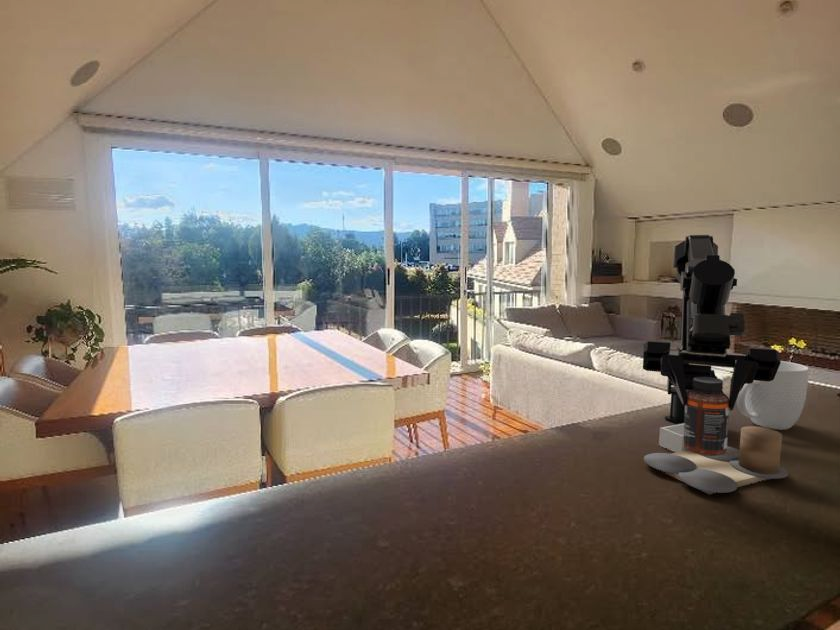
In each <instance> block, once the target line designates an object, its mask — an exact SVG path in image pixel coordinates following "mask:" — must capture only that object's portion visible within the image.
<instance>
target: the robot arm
mask: <svg viewBox="0 0 840 630" xmlns="http://www.w3.org/2000/svg"><path fill="white" fill-rule="evenodd" d="M672 268H673V269H675V278H676V279H677V281H678V283H679V284H680V287H679V288H680V291H681V292H682V308H681V309H682V310H681V312H682V313H681V337H680V338H681V339H680V340H681V341H680V342H681V343H680V348H679V347H674V346H673V347H672V346H671V341H667V340H664V341H663V340H652V339H651V340H650V339H648V340H646V341H645V342H644V344H643V356H642V357H643V358H642V370H645V371H647V372H657V373H658V372H659V373H660V375H661V376H662V377H666V378H667V382H666V383H667V384H666V385H667V386H666V391H667V395H669V396H670V406H669V408H670V409H669V415H666V416H664V420H667V421H670V422H673V423H675V424H676V425H677V424H683V423H684V417H685V405H686V393H687V392H688V391H690V390H691V389H692V388H693V379H694V378H695V377H711V378H717V379H719V378H718V377H717V375H716V373H715V370H714V369H712V367H717V368H729V369H730V368H731V369H733V371H732V375H731V378H730V386H729V387H730V388H729V397H728V398H729V411H733V410H734V407H735V405H736V404H737V397H738V394H739V392H740V391H741V389H742V388H743V386H744V385H745V384H751V383H753V381H754V380H756V381H768V382H769V381H772V380H774V378H775V375H776V373H777V370H778V368H779V366H780V363H781V361H782V360H781V354H780V352H779V351H778V350H777V349H775V348H772V347H759V346H758V347H756V346H755V347H754V346H748V347H747V350H746V353H745V355H740V354H728V350H730V349H731V348H730V347H731V336H737V337H738V336H739V337H741V336H743V335H744V333H745V330H746V328H745V324H746V321H745V313H744V312H730V313H729V315H727V314H726V304H727V303H728V301H729V297H730V294H731V291H732V290H733V289H734V287H737V286H738V285H737V283H738V278H736V277H735V269H734V267H733V266H732V265H731V263H728V262H727V261H724V260H723V259H720V254H719V246H718V245H717V244H716V243H715V242H714V237H713V235H709V234H689V235H688V236H687V235H686V236H685V239H684V240H683V241H682V242H680V243H678V244H676V245H675V246H674V250H673V259H672Z"/></svg>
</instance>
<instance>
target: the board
mask: <svg viewBox="0 0 840 630" xmlns="http://www.w3.org/2000/svg"><path fill="white" fill-rule="evenodd" d="M739 440H740V441H739V448H738V449H737V448H735V447H733V446H728V445H727V451H726V453H725V454H723V455H719V456H705V455H701V454H697V453H694V452H691V451H689V450H685V451H681V452H673V453H671V452H670V453H666V452H665V453H664V452H653V453H649V454H648V453H647V454H646V455H644V457H643V461H644V463H645V465H647V466H649V467H651V468H653V469H655V470H657V471H660V470H661V471H660V472H662V471H663V472H662V473H664V472H665V473H664V474H666V475H668V476H670V477H672V478H674V479H677V480H679V481H681V482H682V483H685V485H688V486H690V487H692V488H695V489H697V490H699V491H701V492H703V493H705V494H707V495H714V494H717V493H718V494H719V493H720V494H721V493H722V494H723V493H724V494H725V493H731V492H735V491H737V489H738V488H741V487H743V486H744V487H745V486H747V485H752V484H756V483H759V482H758V481H760V482H763V481H767V480H772V479H774V480H777V479H778V480H781V479H785V478H786V477H788V475H789V472H788V470H787V468H785V467H783V466H781V465H780V463H781V455H782V454H781V453H782V442H783V434H782V433H781V432H779V431H777V430H776V429H770V428H765V427H762V426H754V425H750V426H748V425H747V426H743V427H741V428H740V438H739ZM766 479H767V480H766ZM762 480H763V481H762ZM751 483H752V484H751ZM716 492H717V493H716ZM713 493H714V494H713Z"/></svg>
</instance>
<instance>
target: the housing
mask: <svg viewBox="0 0 840 630" xmlns="http://www.w3.org/2000/svg"><path fill="white" fill-rule="evenodd" d="M659 445H660V447H662V448H664V449H666V448H667V449H666V450H669V451H671V452H673V453H676V452H681V451H685V450H688V449H686V448H685V447H684V423H683V424H677V423H676V424H673V425H668V426H662V427H659V437H658V446H659Z"/></svg>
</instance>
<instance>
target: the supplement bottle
mask: <svg viewBox="0 0 840 630" xmlns="http://www.w3.org/2000/svg"><path fill="white" fill-rule="evenodd" d="M717 378H718V377H717ZM717 378H711V377H695V378H694V379H693V388H692V389H691V390H690V391H688V392H687V393H686V405H685V417H684V447H685V448H686V449H688V450H689V451H691V452H694V453H697V454H701V455H705V456H719V455H723V454H725V453H726V451H727V446H728V435H729V419H730V418H729V417H730V416H729V415H730V414H729V413H730V409H729V397H728V395H727V394H725V393H724V391H723V389H724V386H723V385H724V381H723V380H722V379H720V378H718V379H717Z"/></svg>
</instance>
